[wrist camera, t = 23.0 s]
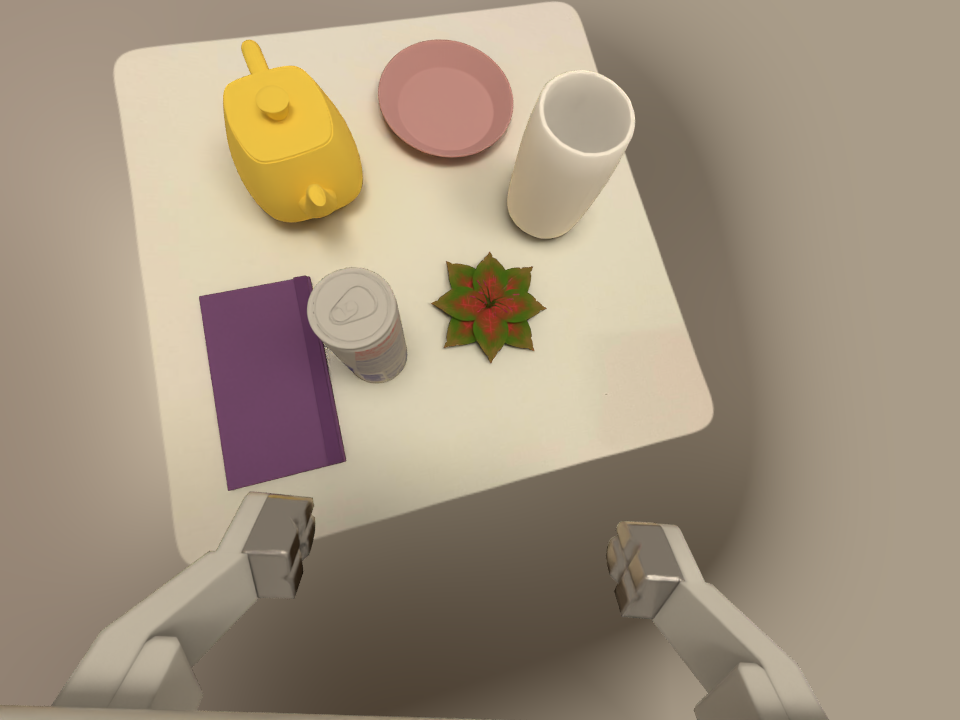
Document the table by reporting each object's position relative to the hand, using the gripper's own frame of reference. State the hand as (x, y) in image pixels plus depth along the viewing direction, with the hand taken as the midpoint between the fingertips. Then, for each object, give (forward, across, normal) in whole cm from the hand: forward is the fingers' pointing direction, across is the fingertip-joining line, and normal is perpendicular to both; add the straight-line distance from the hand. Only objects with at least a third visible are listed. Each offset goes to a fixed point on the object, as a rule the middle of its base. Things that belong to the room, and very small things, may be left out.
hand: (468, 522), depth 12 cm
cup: (+41, -8, +1) cm, 42 cm away
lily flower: (+33, -3, +10) cm, 34 cm away
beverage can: (+28, +7, +14) cm, 32 cm away
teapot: (+40, +16, +2) cm, 43 cm away
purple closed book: (+26, +16, +16) cm, 35 cm away
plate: (+48, +3, -6) cm, 49 cm away
